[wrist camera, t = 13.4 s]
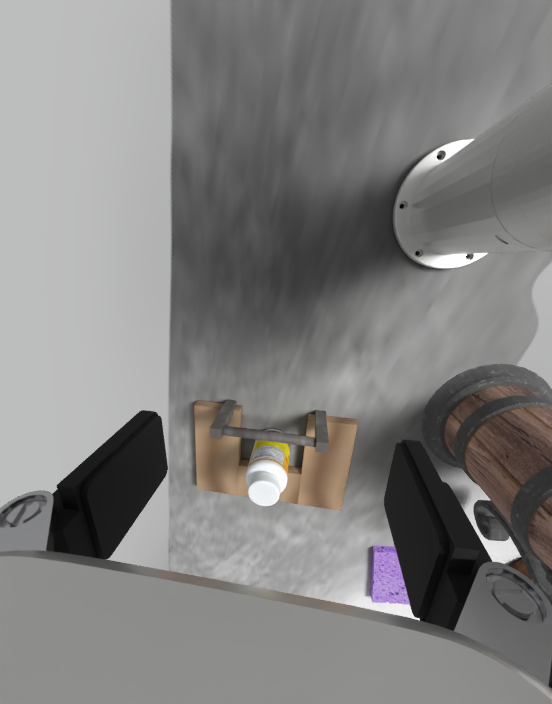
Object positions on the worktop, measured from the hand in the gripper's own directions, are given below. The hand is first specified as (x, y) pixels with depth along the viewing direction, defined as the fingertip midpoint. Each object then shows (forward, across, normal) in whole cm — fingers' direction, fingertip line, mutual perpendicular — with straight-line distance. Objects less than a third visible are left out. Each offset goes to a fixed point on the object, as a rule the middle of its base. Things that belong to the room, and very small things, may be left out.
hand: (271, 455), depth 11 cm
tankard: (+28, -26, +17) cm, 42 cm away
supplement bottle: (+27, +4, +21) cm, 34 cm away
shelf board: (+27, +4, +23) cm, 35 cm away
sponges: (+28, -19, +46) cm, 56 cm away
